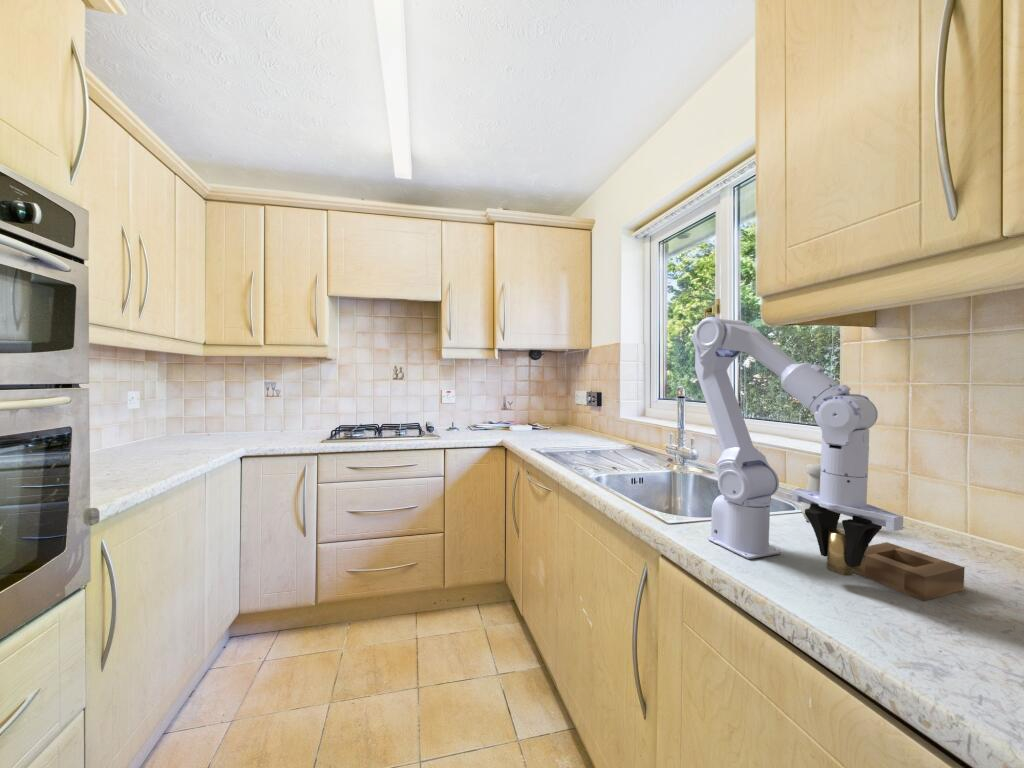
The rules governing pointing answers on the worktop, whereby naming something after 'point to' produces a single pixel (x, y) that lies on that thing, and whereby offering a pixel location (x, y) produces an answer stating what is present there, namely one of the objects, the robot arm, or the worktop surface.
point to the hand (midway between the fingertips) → (839, 560)
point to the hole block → (910, 571)
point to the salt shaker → (812, 483)
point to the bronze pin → (837, 553)
